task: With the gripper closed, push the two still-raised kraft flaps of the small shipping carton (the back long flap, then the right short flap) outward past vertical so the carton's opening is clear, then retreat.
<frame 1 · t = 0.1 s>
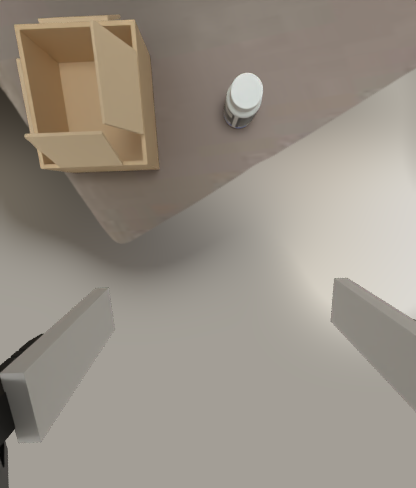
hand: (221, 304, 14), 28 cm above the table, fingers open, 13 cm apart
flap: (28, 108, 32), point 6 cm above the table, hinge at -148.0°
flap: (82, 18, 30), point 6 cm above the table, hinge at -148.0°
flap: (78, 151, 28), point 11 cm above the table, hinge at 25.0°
carton: (110, 117, 37), on the table
pill bottle: (238, 112, 37), on the table
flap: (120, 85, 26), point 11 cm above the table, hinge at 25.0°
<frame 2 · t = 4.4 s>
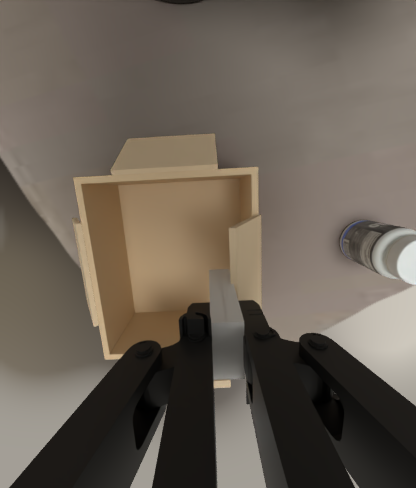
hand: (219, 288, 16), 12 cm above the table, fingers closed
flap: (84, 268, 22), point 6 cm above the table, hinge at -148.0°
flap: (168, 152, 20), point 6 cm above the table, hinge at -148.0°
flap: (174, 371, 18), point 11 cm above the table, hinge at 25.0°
carton: (184, 249, 28), on the table
pill bottle: (358, 239, 27), on the table
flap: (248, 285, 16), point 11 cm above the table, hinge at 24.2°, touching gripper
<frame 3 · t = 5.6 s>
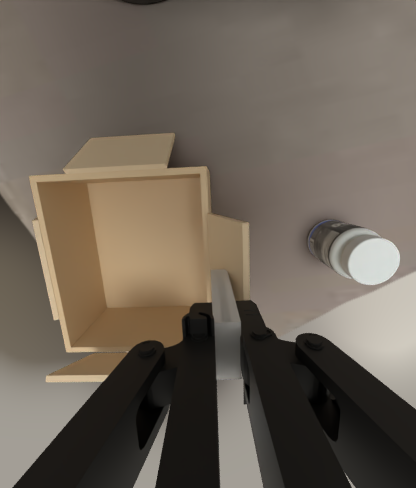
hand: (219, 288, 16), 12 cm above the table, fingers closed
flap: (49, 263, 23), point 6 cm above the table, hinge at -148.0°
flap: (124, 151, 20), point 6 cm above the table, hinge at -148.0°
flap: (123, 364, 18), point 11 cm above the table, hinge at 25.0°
carton: (153, 246, 28), on the table
pill bottle: (326, 239, 27), on the table
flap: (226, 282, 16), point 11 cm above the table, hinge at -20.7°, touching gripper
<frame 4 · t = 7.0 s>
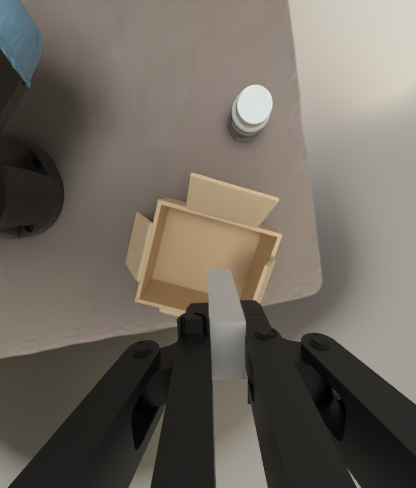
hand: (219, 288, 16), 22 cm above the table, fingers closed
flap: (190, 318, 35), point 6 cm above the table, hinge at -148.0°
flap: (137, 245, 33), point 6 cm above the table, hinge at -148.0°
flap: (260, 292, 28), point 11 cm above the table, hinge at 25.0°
carton: (206, 253, 39), on the table
pill bottle: (243, 124, 35), on the table
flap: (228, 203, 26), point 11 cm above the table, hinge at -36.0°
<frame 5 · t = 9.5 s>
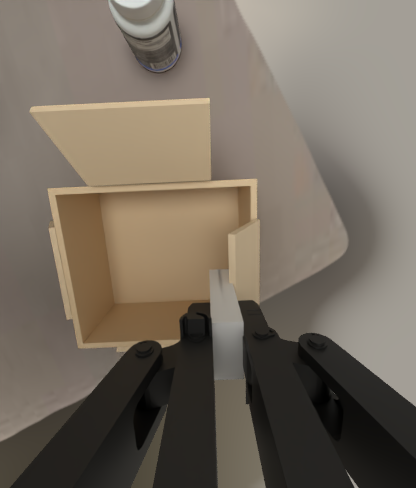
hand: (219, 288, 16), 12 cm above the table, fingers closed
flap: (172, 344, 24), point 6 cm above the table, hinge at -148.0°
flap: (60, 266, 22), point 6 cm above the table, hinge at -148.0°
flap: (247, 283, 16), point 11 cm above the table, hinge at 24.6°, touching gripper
carton: (173, 247, 28), on the table
pill bottle: (157, 47, 23), on the table
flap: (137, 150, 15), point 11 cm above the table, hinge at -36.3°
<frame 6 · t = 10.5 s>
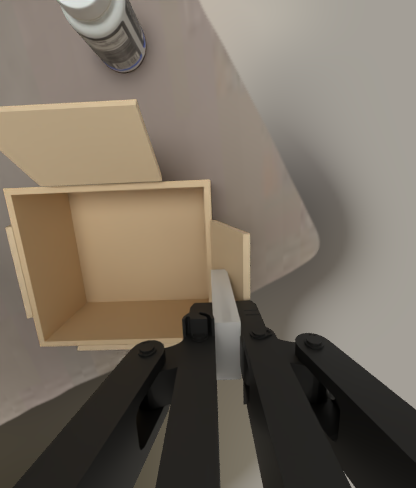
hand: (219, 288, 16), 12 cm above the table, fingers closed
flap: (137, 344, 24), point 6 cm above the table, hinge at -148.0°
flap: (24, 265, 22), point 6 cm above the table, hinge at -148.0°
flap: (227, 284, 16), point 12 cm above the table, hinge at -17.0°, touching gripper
carton: (143, 247, 28), on the table
pill bottle: (123, 47, 23), on the table
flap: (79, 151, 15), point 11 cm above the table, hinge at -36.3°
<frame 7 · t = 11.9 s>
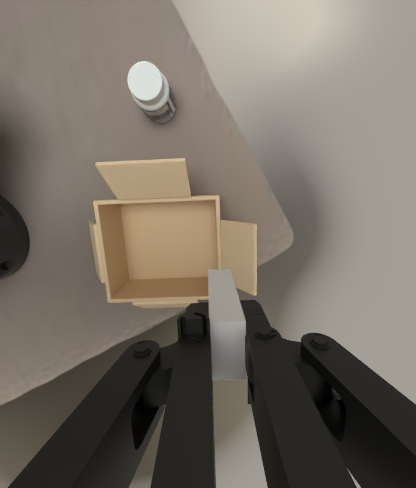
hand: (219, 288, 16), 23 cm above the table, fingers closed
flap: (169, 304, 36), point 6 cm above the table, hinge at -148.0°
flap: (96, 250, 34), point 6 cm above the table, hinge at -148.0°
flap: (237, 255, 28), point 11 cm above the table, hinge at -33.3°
carton: (170, 239, 39), on the table
pill bottle: (160, 106, 35), on the table
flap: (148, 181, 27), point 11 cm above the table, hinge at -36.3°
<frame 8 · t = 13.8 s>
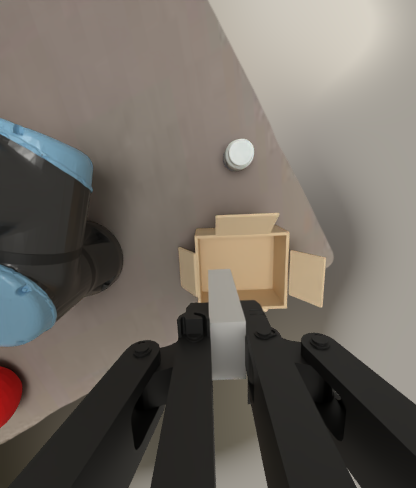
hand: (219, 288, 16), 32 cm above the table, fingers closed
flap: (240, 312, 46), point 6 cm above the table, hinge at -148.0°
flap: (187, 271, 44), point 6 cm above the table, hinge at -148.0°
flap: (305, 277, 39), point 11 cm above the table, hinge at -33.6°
tomato: (4, 379, 56), on the table
carton: (236, 260, 50), on the table
pill bottle: (235, 158, 45), on the table
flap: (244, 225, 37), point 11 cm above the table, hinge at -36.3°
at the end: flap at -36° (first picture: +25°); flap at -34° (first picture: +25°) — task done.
